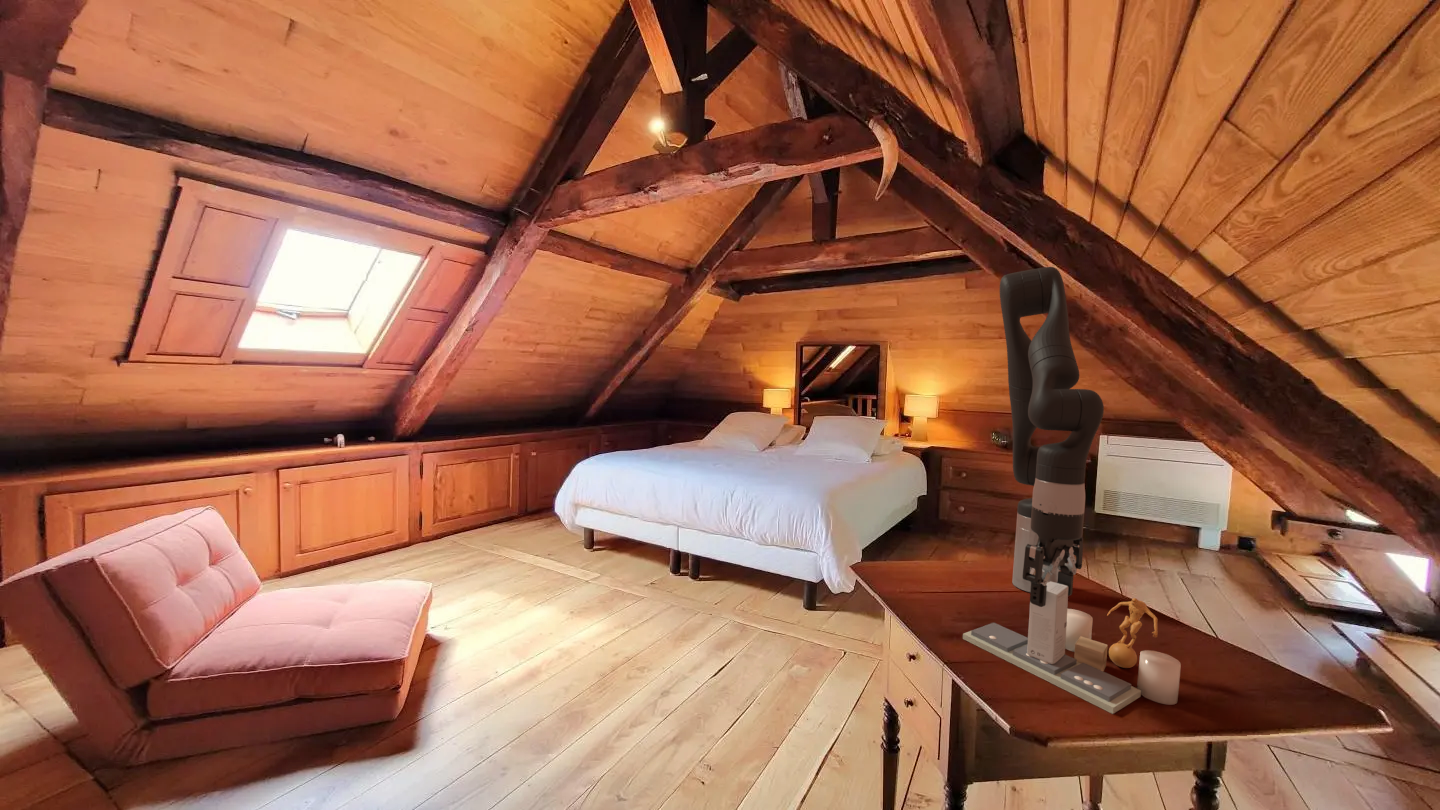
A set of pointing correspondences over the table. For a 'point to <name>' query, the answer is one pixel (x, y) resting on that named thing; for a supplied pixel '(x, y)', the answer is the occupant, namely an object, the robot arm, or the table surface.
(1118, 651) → the figurine
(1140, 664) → the white pillar candle
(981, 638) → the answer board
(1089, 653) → the beech block
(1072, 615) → the white rounded cylinder
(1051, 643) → the skincare box
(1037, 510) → the robot arm
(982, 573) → the table surface
